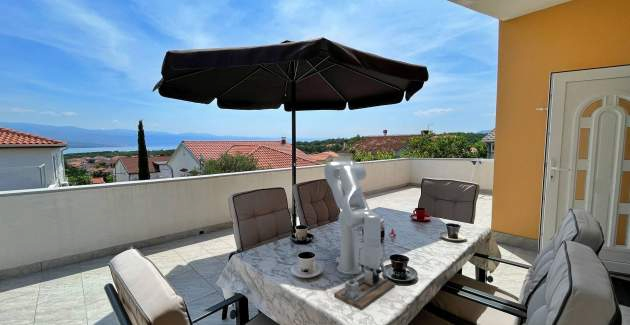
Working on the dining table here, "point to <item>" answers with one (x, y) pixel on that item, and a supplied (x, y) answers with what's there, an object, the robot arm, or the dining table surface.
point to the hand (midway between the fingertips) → (371, 280)
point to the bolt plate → (363, 292)
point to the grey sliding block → (369, 275)
